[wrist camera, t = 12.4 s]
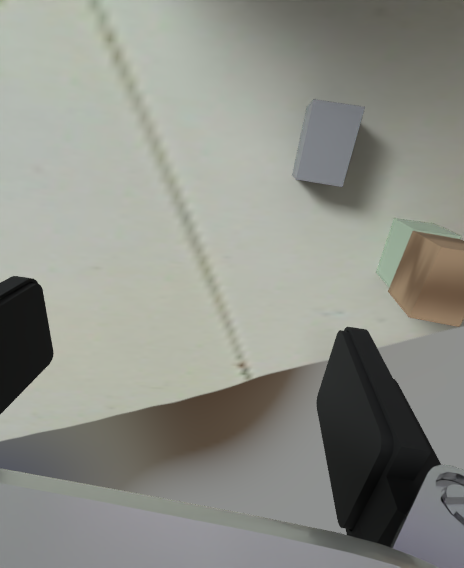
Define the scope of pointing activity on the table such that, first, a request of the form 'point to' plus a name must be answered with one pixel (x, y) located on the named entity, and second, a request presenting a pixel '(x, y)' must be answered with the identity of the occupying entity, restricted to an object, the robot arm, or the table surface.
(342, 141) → the grey toy block
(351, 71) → the table surface
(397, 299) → the walnut brick
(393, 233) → the sage brick
